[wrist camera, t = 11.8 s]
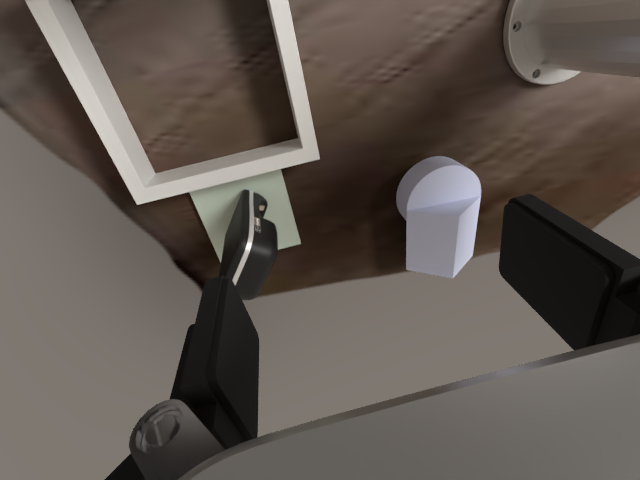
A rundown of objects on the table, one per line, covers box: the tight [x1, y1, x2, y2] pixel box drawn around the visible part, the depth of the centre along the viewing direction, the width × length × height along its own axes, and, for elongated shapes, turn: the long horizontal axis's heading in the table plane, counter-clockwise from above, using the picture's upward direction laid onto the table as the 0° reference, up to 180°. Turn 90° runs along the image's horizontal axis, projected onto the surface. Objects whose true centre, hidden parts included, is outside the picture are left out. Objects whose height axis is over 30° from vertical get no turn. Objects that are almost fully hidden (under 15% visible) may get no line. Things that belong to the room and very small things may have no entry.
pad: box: [189, 169, 301, 263], centre depth 39 cm, size 10×10×1 cm
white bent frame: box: [25, 0, 320, 205], centre depth 22 cm, size 18×21×20 cm
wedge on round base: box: [396, 156, 481, 278], centre depth 40 cm, size 9×7×13 cm
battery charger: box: [219, 189, 278, 300], centre depth 33 cm, size 7×4×11 cm, turn 154°
